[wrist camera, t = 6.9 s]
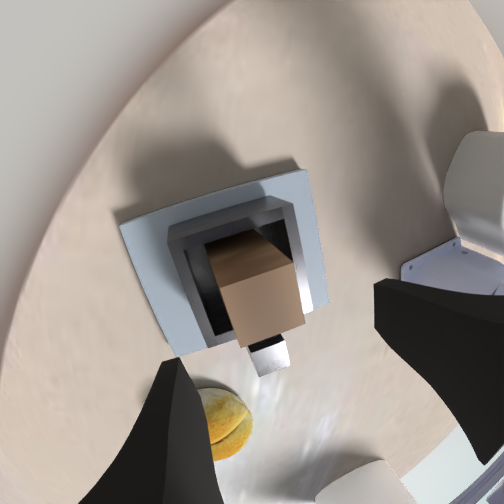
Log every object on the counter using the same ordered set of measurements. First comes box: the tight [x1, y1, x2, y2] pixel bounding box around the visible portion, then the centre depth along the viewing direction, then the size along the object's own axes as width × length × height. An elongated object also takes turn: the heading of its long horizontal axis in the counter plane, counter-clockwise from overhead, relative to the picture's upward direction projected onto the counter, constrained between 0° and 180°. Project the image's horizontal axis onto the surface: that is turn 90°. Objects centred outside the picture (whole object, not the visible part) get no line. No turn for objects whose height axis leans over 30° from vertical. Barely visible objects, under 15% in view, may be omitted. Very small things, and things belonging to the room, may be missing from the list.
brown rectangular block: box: [204, 229, 305, 348], centre depth 14 cm, size 3×3×6 cm
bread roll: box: [197, 388, 253, 461], centre depth 21 cm, size 8×9×4 cm
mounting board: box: [119, 169, 329, 357], centre depth 19 cm, size 12×10×1 cm
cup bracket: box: [167, 195, 313, 377], centre depth 16 cm, size 6×9×4 cm
